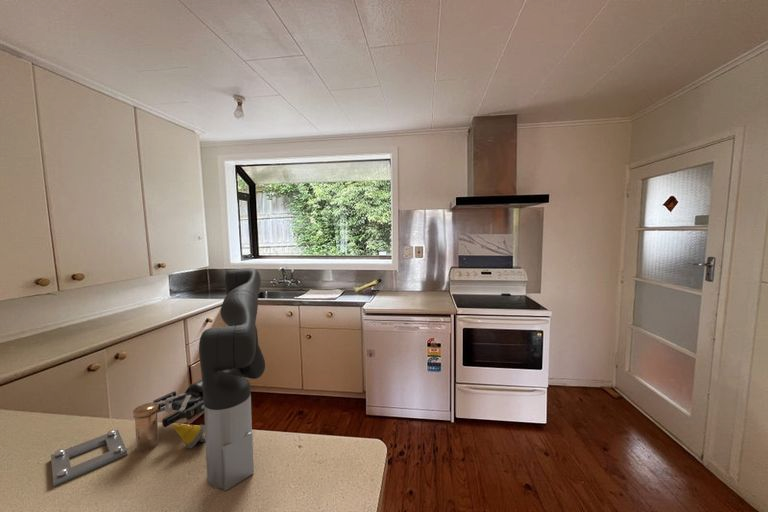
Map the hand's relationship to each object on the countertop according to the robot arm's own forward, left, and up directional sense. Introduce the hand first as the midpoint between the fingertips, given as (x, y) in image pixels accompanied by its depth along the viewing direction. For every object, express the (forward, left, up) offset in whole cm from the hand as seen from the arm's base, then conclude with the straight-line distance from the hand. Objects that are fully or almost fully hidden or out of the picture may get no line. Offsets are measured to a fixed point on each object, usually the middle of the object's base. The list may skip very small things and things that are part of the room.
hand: (152, 420), depth 76 cm
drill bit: (-9, -6, -6) cm, 13 cm away
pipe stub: (0, +1, -6) cm, 6 cm away
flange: (+6, +11, -6) cm, 14 cm away
